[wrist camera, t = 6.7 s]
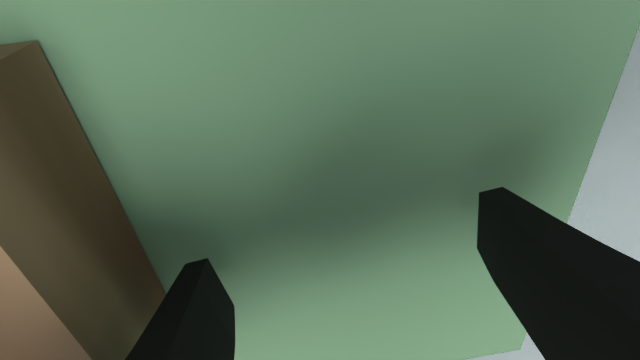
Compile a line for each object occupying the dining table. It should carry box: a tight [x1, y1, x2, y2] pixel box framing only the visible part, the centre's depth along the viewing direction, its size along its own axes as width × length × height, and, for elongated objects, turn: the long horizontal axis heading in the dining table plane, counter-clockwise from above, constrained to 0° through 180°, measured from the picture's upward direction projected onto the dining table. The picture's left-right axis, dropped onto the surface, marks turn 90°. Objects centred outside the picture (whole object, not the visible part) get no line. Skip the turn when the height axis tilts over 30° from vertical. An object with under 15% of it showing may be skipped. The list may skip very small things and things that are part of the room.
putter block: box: [0, 41, 166, 360], centre depth 9 cm, size 4×12×4 cm, turn 6°
